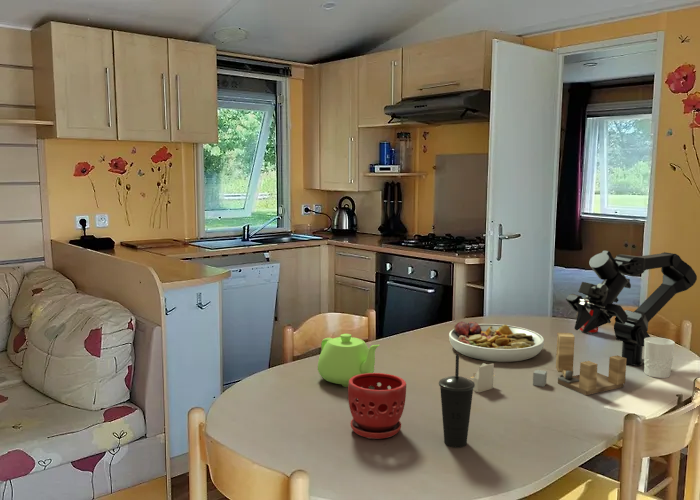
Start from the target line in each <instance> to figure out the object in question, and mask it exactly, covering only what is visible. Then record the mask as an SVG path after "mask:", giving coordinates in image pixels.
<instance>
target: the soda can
mask: <svg viewBox="0 0 700 500" xmlns="http://www.w3.org/2000/svg"><path fill="white" fill-rule="evenodd" d="M582 298H583V297H582ZM583 299H584V300H585V301H587V302H589V300H587V299H586V297H584V298H583ZM589 313H590V315H591V316H592V315H593V310H590V312H589ZM587 323H588V321H587V322H586V323H585V324H584V325H583V326H582V327H581V328H580V329H579V330H580V331H581V332H583V329H584V327H585V326H586V324H587ZM598 332H599V327H597V328H595V329H593V330H591V331H589V332H587V333H586V334H596V333H598Z"/></svg>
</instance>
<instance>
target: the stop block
mask: <svg viewBox="0 0 700 500" xmlns="http://www.w3.org/2000/svg"><path fill="white" fill-rule="evenodd" d="M547 372H548V371H547V370H543V369H542V370H541V369H535V370H534V371H533V374H532V385H533V386H535V387H543V388H545V386H546V385H547V375H548V373H547Z"/></svg>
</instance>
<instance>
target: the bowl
mask: <svg viewBox="0 0 700 500" xmlns="http://www.w3.org/2000/svg"><path fill="white" fill-rule="evenodd" d="M448 339H449V342H450V345H451V346H452V348H453V349H455V351H456V352H457V353H458V354H462V355H463V356H466V357H468V358H473V359H475V360H481V361H487V362H495V363H496V362H499V363H501V362H502V363H509V362H510V363H511V362H512V363H513V362H520V361H526V360H529V359H531V358H534V357H535V356H537V355H539V354H540V353H541V351H542V350H543V348H544V344H545V340H544V337H543V336H542V335H541V334H540V333H538V332H537V331H534V330H530V329H529V328H524V327H520V326H514V325H509V324H496V323H478V322H475V321H469V322H468V323H467V322H466V321H459V322H457V323H456V324H455V325H454V327H453V329H452V330H450V331H449V333H448Z"/></svg>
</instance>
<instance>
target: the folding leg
mask: <svg viewBox="0 0 700 500" xmlns="http://www.w3.org/2000/svg"><path fill="white" fill-rule="evenodd" d="M556 334H557V335H556V336H557V337H556V353H555V355H556V356H555V369H556V372H557V373H561V374H562V377H565V379H568V380H571V379H573V376H574V361H575V359H574V357H575V338H576V337H575V335H574V334H573V333H572V332H557V333H556Z"/></svg>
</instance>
